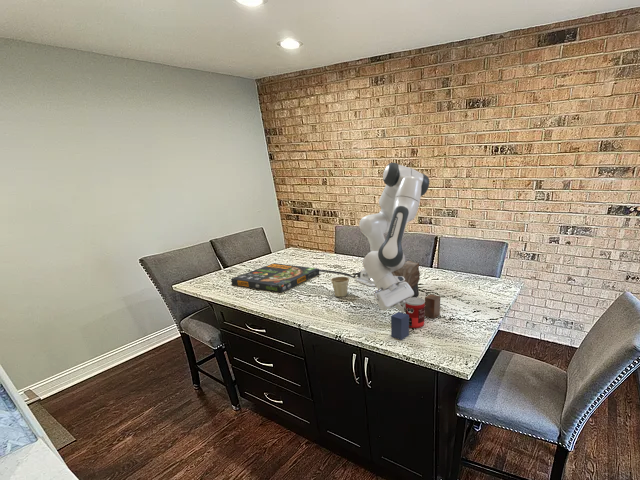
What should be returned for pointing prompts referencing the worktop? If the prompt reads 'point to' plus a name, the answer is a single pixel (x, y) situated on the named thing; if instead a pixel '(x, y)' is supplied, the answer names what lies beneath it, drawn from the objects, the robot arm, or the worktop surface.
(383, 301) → the robot arm
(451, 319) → the worktop surface
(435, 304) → the walnut block
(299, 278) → the pizza box
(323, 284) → the worktop surface
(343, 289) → the flower pot
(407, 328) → the blue block
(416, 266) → the owl
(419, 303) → the canned food
